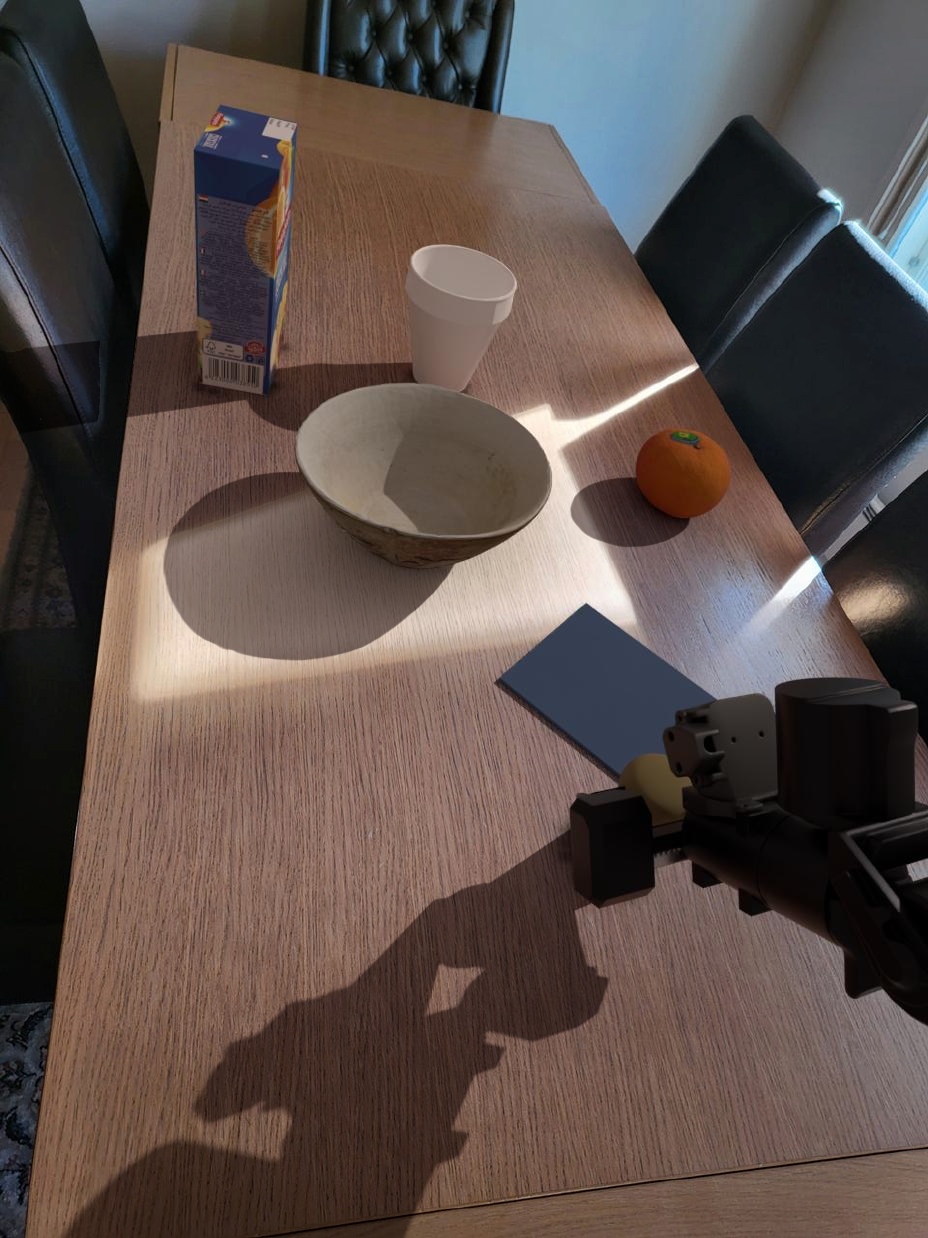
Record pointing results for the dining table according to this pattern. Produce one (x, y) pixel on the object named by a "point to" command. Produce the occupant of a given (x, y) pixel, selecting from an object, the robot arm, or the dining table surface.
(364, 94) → the dining table surface
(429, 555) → the bowl
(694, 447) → the fruit
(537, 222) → the dining table surface
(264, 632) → the dining table surface
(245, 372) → the blue cardboard box
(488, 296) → the cup
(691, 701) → the book
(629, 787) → the cork
